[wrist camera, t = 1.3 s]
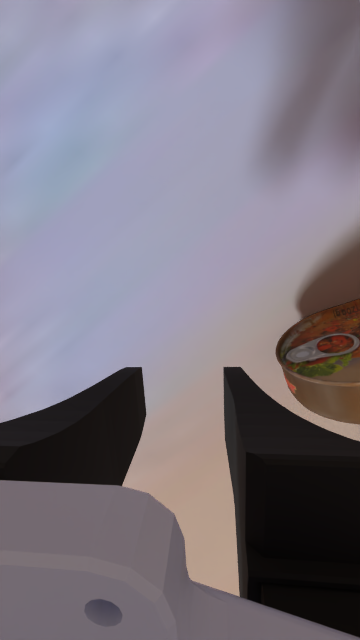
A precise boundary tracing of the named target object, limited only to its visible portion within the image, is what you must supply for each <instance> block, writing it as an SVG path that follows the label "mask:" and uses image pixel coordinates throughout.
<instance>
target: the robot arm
mask: <svg viewBox="0 0 360 640" xmlns="http://www.w3.org/2000/svg"><path fill="white" fill-rule="evenodd" d="M145 418H146V407H145V396H144V386H143V375H142V367H126V368H123V369H121V370H119V371H117V372H116V373H114V374H112V375H110V376H109V377H107V378H105V379H104V380H102V381H100V382H98V383H97V384H95V385H93V386H92V387H90V388H88V389H86V390H84V391H82V392H80V393H78V394H76V395H75V396H73V397H71V398H69V399H67V400H64V401H62V402H60V403H58V404H55V405H53V406H50V407H48V408H46V409H43V410H40V411H37V412H34V413H31V414H28V415H25V416H22V417H19V418H16V419H13V420H10V421H6V422H2V423H0V640H360V442H359V441H356V440H353V439H350V438H347V437H344V436H341V435H339V434H336V433H334V432H331V431H328V430H326V429H324V428H322V427H319V426H317V425H315V424H313V423H311V422H309V421H307V420H305V419H303V418H301V417H299V416H298V415H296V414H294V413H292V412H291V411H289V410H288V409H286V408H285V407H283V406H282V405H280V404H279V403H277V402H276V401H275V400H273V399H272V398H271V397H270V396H268V395H267V394H266V393H265V392H264V391H263V390H262V389H261V388H259V387H258V386H257V385H256V384H255V383H254V382H253V380H252V379H251V378H250V377H249V376H248V375H247V374H246V373H245V371H244V370H243V369H242V368H241V367H224V421H225V441H226V448H227V455H228V461H229V468H230V474H231V481H232V487H233V494H234V503H235V518H236V535H237V554H238V573H239V592H240V597H239V596H236V595H233V594H230V593H227V592H224V591H221V590H218V589H215V588H212V587H209V586H206V585H203V584H200V583H197V582H194V581H192V580H191V579H190V578H189V575H188V571H187V567H186V556H185V540H184V537H183V534H182V532H181V529H180V527H179V524H178V522H177V519H176V517H175V514H174V513H173V512H171V511H170V510H169V509H168V508H166V507H165V506H164V505H163V504H161V503H160V502H159V501H158V500H156V499H155V498H154V497H153V496H151V495H150V494H149V493H146V492H142V491H138V490H134V489H131V488H127V487H123V486H122V484H123V481H124V479H125V476H126V474H127V471H128V469H129V466H130V464H131V461H132V459H133V456H134V454H135V451H136V449H137V446H138V443H139V441H140V438H141V435H142V431H143V427H144V422H145Z"/></svg>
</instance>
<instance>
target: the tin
mask: <svg viewBox="0 0 360 640" xmlns="http://www.w3.org/2000/svg"><path fill="white" fill-rule="evenodd" d="M276 357H277V360H278V362H279V363H280V365H281V366H282V369H283V372H284V376H285V379H286V382H287V384H288V387H289V389H290V391H291V393H292V394H293V395H294V397H295V398H296V399H297V400H298V401H299V402H300V403H301V404H302V405H303V406H305V407H306V408H307V409H308V410H310V411H312V412H314V413H316V414H318V415H320V416H323V417H326V418H329V419H332V420H336V421H340V422H345V423H352V424H360V299H357V300H354V301H351V302H348V303H345V304H342V305H339V306H336V307H333V308H329V309H326V310H323V311H321V312H318V313H315V314H313V315H311V316H309V317H307V318H305V319H303V320H301V321H299V322H298V323H296V324H295V325H293V326H292V327H291V328H289V329H288V330H287V331H286V332H285V333H284V334H283V335H282V337H281V338H280V340H279V341H278V343H277V347H276Z"/></svg>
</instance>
